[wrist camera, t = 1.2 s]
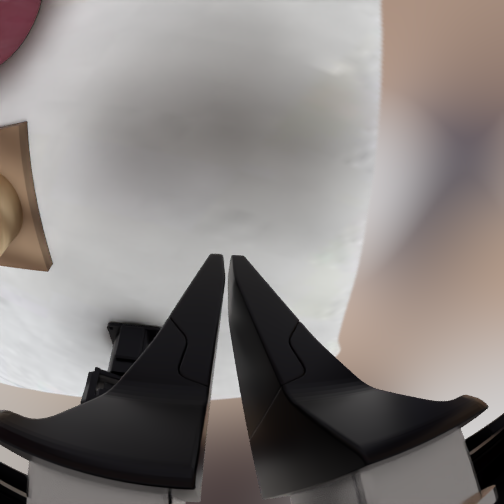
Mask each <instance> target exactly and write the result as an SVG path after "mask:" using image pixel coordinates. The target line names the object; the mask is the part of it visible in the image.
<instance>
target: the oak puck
mask: <svg viewBox="0 0 504 504" xmlns="http://www.w3.org/2000/svg"><path fill="white" fill-rule="evenodd" d="M22 224H23V211H22V206H21V202H20V199H19V197H18V194H17V192H16V190H15V189H14V187H13V186H12V184H11V183H10V182H9V180H7V179H6V178H5V177H4V176H3V175H1V174H0V256H1V255H2V254H3V252H4V251H5V250H6V249H7V247H8V246H9V245H10V244H11V242H12V241H13V240H14V239H15V237H16V236H17V235H18V234H19V232H20V230H21V228H22Z"/></svg>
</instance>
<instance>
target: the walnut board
mask: <svg viewBox="0 0 504 504" xmlns="http://www.w3.org/2000/svg"><path fill="white" fill-rule="evenodd" d="M0 174H1V175H3V176H4V177H5V178H6V179H7V180H9V182H10V183H11V184H12V186H13V187H14V189H15V190H16V192H17V194H18V197H19V199H20V202H21V206H22V211H23V224H22V228H21V230H20V232H19V234H18V235H17V236H16V237H15V239H14V240H13V241H12V242H11V244H10V245H9V246H8V247H7V249H6V250H5V251H4V252H3V254H2V255H1V256H0V266H7V267H14V268H22V269H30V270H38V271H47V272H48V271H49V269H50V268H51V266H52V264H53V263H52V260H51V257H50V253H49V250H48V246H47V243H46V239H45V235H44V232H43V228H42V224H41V219H40V215H39V210H38V206H37V201H36V195H35V190H34V184H33V178H32V171H31V164H30V155H29V145H28V132H27V122H22V123H17V124H12V125H8V126H3V127H0Z"/></svg>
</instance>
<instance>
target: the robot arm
mask: <svg viewBox="0 0 504 504" xmlns="http://www.w3.org/2000/svg"><path fill="white" fill-rule="evenodd" d="M224 286H225V269H224V259H223V255H222V254H210V255H209V257H208V258H207V260H206V261H205V263H204V264H203V266H202V267H201V268H200V270H199V271H198V273H197V274H196V276H195V278H194V279H193V281H192V282H191V284H190V285H189V287H188V288H187V290H186V291H185V293H184V294H183V296H182V297H181V299H180V300H179V302H178V303H177V305H176V307H175V308H174V310H173V311H172V313H171V314H170V316H169V318H168V319H167V320H166V322H165V323H164V325H163V327H162V328H159V327H148V326H137V325H127V324H118V323H108V326H107V328H108V331H109V334H110V337H111V339H112V342H113V349H112V353H111V358H110V362H109V367H108V372H107V371H104V370H101V369H100V368H98V367H95V371H93V372H89V374H88V378H87V382H86V386H85V390H84V393H83V396H82V399H81V404H80V405H78V406H76V407H74V408H71V409H69V410H66V411H64V412H62V413H59V414H57V415H54V416H51V417H48V418H42V419H31V418H27V417H23V416H21V415H18V414H16V413H13V412H11V411H8V410H0V445H2V446H3V447H5V448H7V449H9V450H11V451H12V452H14V453H16V454H17V455H19V456H21V457H23V458H25V459H27V460H29V468H28V469H29V470H28V475H26V474H24V473H22V472H20V471H18V470H16V469H13V468H12V467H10V466H8V465H6V464H4V463H2V462H0V504H186V502H200V498H201V487H202V475H203V464H204V454H205V445H206V444H205V443H206V435H207V426H208V417H209V407H210V400H211V391H212V383H213V374H214V366H215V358H216V350H217V342H218V335H219V327H220V319H221V310H222V302H223V294H224ZM228 317H229V327H230V333H231V340H232V346H233V352H234V358H235V364H236V370H237V376H238V381H239V387H240V393H241V398H242V404H243V409H244V414H245V420H246V425H247V430H248V435H249V439H250V445H251V450H252V455H253V460H254V464H255V470H256V474H257V479H258V483H259V488H260V492H261V496H262V499H270V498H277V497H284V496H290V498H291V504H504V413H503V414H502V415H501V416H499V417H498V418H497V419H495V420H494V421H492V422H491V423H490V424H488V425H487V426H485V427H484V428H482V429H481V430H479V431H478V432H476V433H475V434H473V435H472V436H470V437H468V438H467V439H464V436H463V434H462V431H461V427H463V426H464V425H466V424H467V423H469V422H470V421H472V420H473V419H474V418H476V417H477V416H479V415H480V414H481V413H482V412H484V411H485V410H486V409H487V408H488V405H487V404H486V403H485V402H483V401H482V400H480V399H478V398H476V397H472V396H469V395H463V396H460V397H458V398H456V399H454V400H450V401H432V400H426V399H421V398H416V397H411V396H406V395H401V394H396V393H392V392H387V391H383V390H379V389H376V388H373V387H371V386H369V385H367V384H366V383H364V382H362V381H361V380H360V379H359V378H357V377H356V376H355V375H354V374H353V373H352V372H351V371H350V370H349V369H347V368H346V367H345V366H344V365H343V364H342V363H341V362H340V361H339V360H338V359H336V358H335V357H334V356H333V355H332V354H331V353H330V352H329V351H328V350H327V349H326V348H325V347H324V346H323V345H322V344H321V343H320V342H319V341H318V340H317V339H316V338H315V337H314V336H313V335H312V334H311V333H310V332H309V331H308V330H307V328H306V327H305V326H304V325H303V324H302V323H301V322H299V319H298V318H297V317H296V316H295V315H294V314H293V312H292V311H291V310H290V309H289V308H288V307H287V305H286V304H285V303H284V302H283V301H282V300H281V298H280V297H279V296H278V295H277V294H276V293H275V292H274V290H273V289H272V288H271V287H270V286H269V285H268V283H267V282H266V281H265V280H264V279H263V278H262V276H261V275H260V274H259V273H258V272H257V271H256V269H255V268H254V267H253V266H252V265H251V263H250V262H249V261H248V260H247V259H246V258H245V257H244V256H241V255H232V256H231V259H230V266H229V273H228Z"/></svg>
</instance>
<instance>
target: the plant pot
mask: <svg viewBox="0 0 504 504" xmlns="http://www.w3.org/2000/svg"><path fill="white" fill-rule="evenodd" d="M40 4H41V0H0V65H1V64H2V63H3V62H5V61H6V60H7V59H8V58H9V57H11V56H12V55H13V53H14V52H15V51H16V50H17V49H18V48H19V46H20V45H21V44H22V42H23V41H24V39H25V38H26V36H27V35H28V33H29V31H30V29H31V27H32V25H33V23H34V21H35V19H36V16H37V14H38V11H39V7H40Z"/></svg>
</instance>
